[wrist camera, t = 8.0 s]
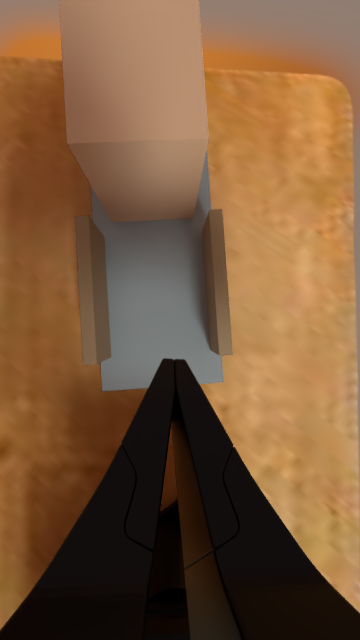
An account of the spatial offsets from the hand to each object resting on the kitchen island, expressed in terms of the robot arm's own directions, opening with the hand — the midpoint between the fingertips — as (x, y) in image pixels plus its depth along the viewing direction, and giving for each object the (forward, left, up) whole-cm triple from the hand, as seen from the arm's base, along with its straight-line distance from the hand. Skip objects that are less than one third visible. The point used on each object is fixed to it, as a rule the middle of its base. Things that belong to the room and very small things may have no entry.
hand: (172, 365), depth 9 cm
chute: (+4, +8, -13) cm, 16 cm away
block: (+7, +14, -12) cm, 20 cm away
